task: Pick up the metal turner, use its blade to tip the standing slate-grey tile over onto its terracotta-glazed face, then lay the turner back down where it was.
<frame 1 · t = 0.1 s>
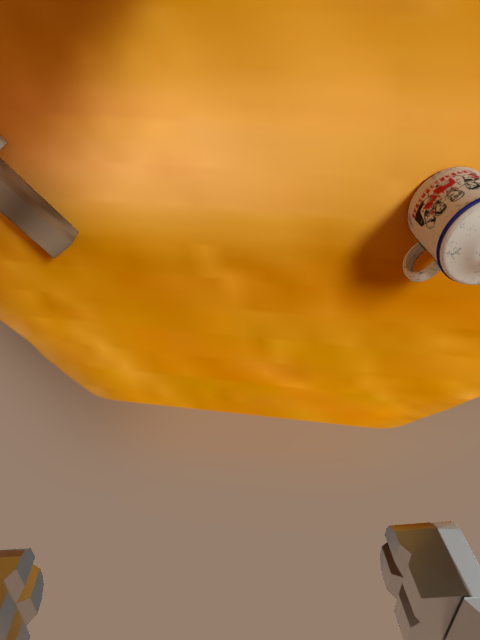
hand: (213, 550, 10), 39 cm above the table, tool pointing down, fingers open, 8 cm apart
teacup with lid: (434, 215, 48), on the table
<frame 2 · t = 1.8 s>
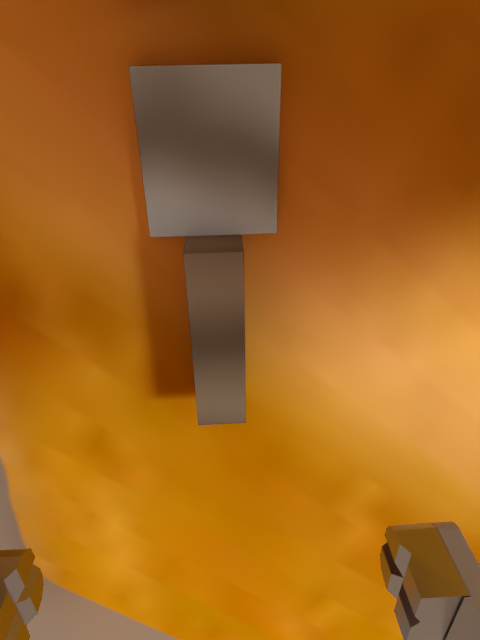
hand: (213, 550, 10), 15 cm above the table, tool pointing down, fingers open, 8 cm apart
turner: (213, 229, 22), on the table
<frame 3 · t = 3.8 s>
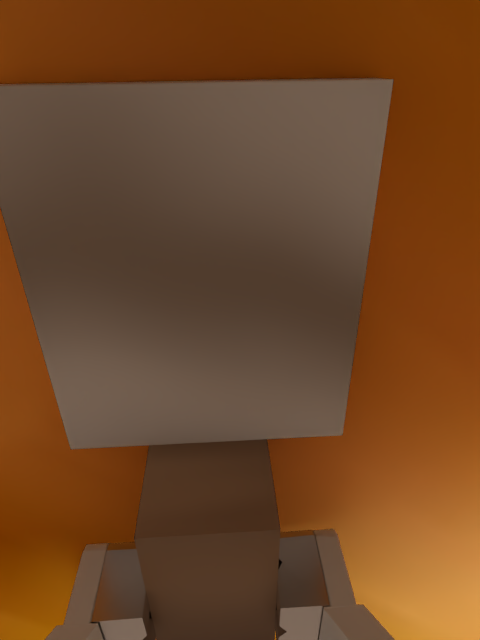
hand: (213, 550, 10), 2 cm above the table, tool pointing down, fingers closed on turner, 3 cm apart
turner: (208, 417, 10), on the table, touching gripper
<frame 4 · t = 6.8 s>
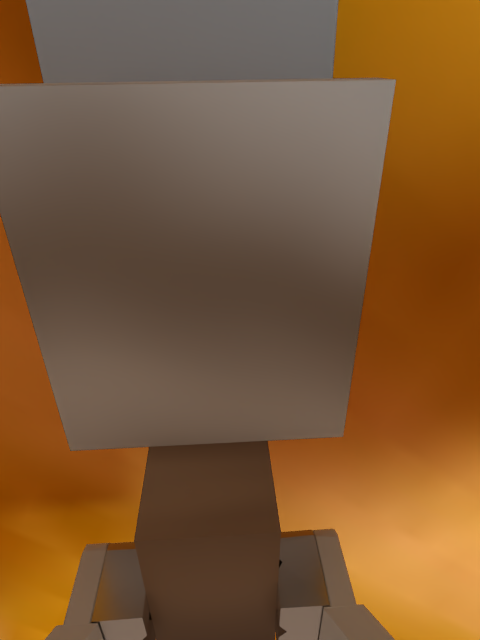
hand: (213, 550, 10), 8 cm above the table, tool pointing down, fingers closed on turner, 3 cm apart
turner: (208, 418, 10), point 6 cm above the table, touching gripper
tile: (195, 152, 12), point 1 cm above the table, tilted 90°
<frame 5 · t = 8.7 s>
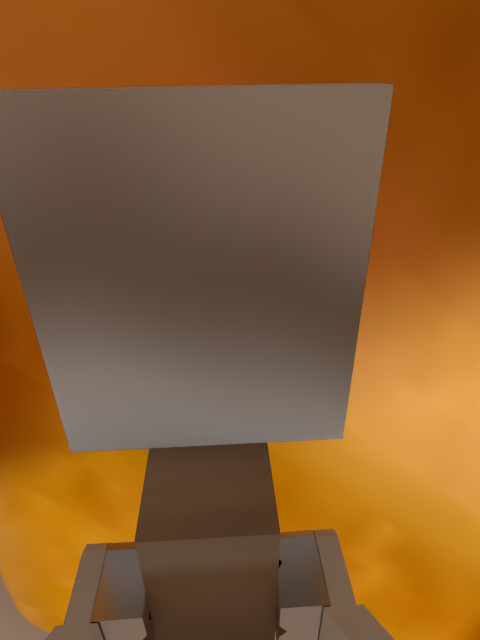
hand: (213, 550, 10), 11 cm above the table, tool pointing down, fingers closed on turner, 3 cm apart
turner: (208, 420, 10), point 10 cm above the table, touching gripper
when the fingers open (3 cm above the table, at t = 10.3 s): turner drops 1 cm, on the table.
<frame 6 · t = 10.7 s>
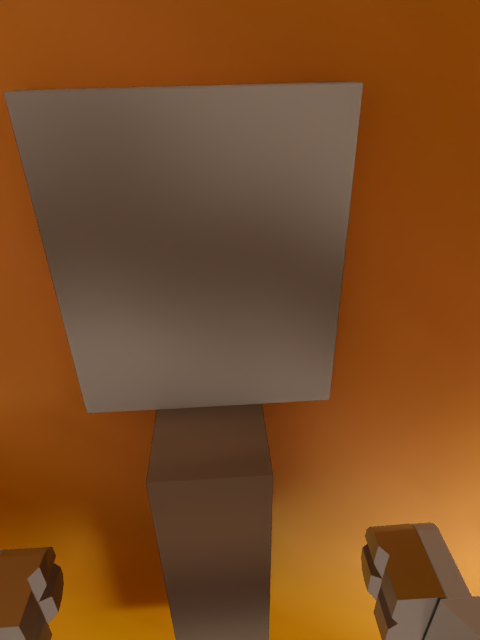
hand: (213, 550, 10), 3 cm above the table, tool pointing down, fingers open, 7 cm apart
turner: (209, 386, 12), on the table
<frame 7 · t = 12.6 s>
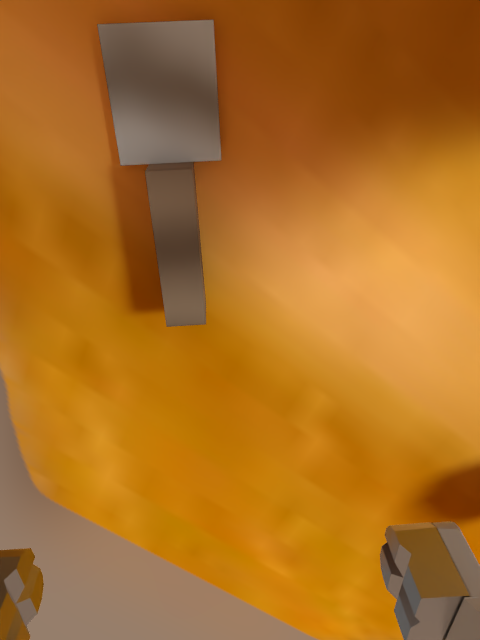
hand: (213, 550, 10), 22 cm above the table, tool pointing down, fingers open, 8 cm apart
turner: (172, 160, 27), on the table
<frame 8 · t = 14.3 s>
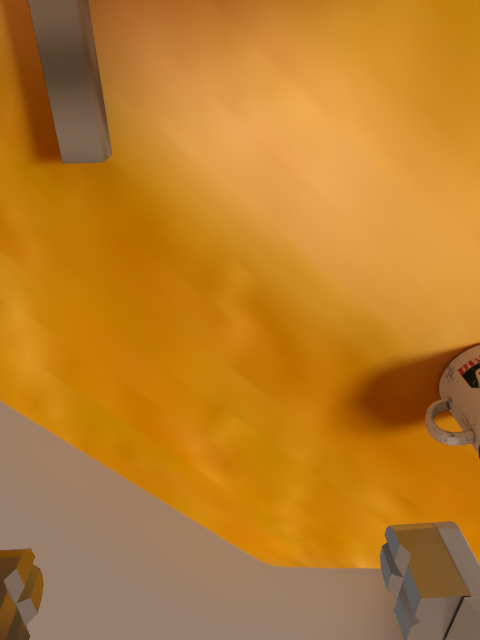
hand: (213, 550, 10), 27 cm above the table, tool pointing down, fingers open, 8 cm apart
teacup with lid: (465, 378, 44), on the table
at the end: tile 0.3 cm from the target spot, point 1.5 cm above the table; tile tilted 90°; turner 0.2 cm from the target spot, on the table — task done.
